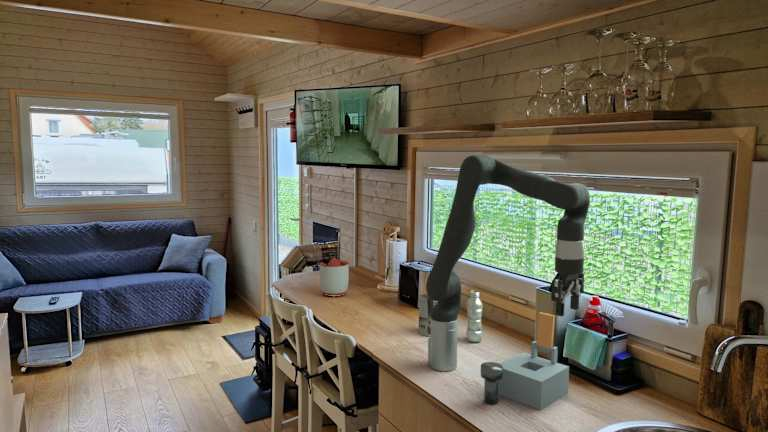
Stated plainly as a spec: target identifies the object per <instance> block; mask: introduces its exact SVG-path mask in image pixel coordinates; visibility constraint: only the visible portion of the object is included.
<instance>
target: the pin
mask: <svg viewBox="0 0 768 432" xmlns="http://www.w3.org/2000/svg"><path fill="white" fill-rule="evenodd" d="M502 377H503V366H502V365H501V364H500V363H498V362H493V361H486V362H483V363H481V364H480V378H482V379H483V380H484V388H483V390H484V394H483V395H484V397H483V399H484V400H483V402H484V404H487V405H490V406H491V405H492V406H494V405H495V406H496V405H497V404H498V403H499V394H498V380H500V379H502Z"/></svg>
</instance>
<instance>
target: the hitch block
mask: <svg viewBox="0 0 768 432" xmlns="http://www.w3.org/2000/svg"><path fill="white" fill-rule="evenodd" d="M536 345H537V340H534V341H532V342H531V349H530V353H527V352H522V353H519V354H518V355H515V356H513V357H511V358H509V359H506V360H504V361H502V362H500V363H499V364H501V365H502V366H503V377H502V379H500V380H498V395H501V396H503V397H505V398H509V399H511V400H514V401H517V402H519V403H521V404H524V405H526V406H529V407H532V408H534V409H537V410H539V411H541V410H543V409H545V408H547V407H548V406H549V404H550V405H551V404H553V403H554V401H555V402H556V401H558V400H559V399H562V398H563V397H564V396H566V395H568V394H569V382H570V379H569V377H570V366H569V365H565V364H562V363H559V362H558V355H559V353H558V350H559V349H558V346H553V348H551V353H550V354H551V355H550V359H546V358H543V357H539V356H538V349H536Z"/></svg>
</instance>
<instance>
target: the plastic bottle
mask: <svg viewBox="0 0 768 432" xmlns="http://www.w3.org/2000/svg"><path fill="white" fill-rule="evenodd" d="M469 293H470V294H469V296H470V297H469V299H468V300H467V301H466V313H467V325H466V326H467V327H466V331H465V332H466V333H465V336H466V339H467V341H469V342H471V343H479V342H481V341H482V340H483V327H482V316H483V314H482V313H483V307H484V304H483V302H482V299H481V298H480V296H481V294H480V291H479V290H476V289H475V290H472V289H471V290H470V291H469Z"/></svg>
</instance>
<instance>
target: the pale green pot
mask: <svg viewBox="0 0 768 432" xmlns="http://www.w3.org/2000/svg"><path fill="white" fill-rule="evenodd" d="M318 264H319V265H318V266H319V285H320V288H321V292H322V295H323V294H327V295H342V294H345V293H346V294H347V291H348V287H349V279H350V278H349V277H350V275H349V274H350V272H349V271H350V270H349V264H350V262H349V261H346V260H338V258H336V257H332V258H331V259H330V260H329V262H328V263H327V264H325V262H323V261H321V262H318ZM346 294H345V295H346Z"/></svg>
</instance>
